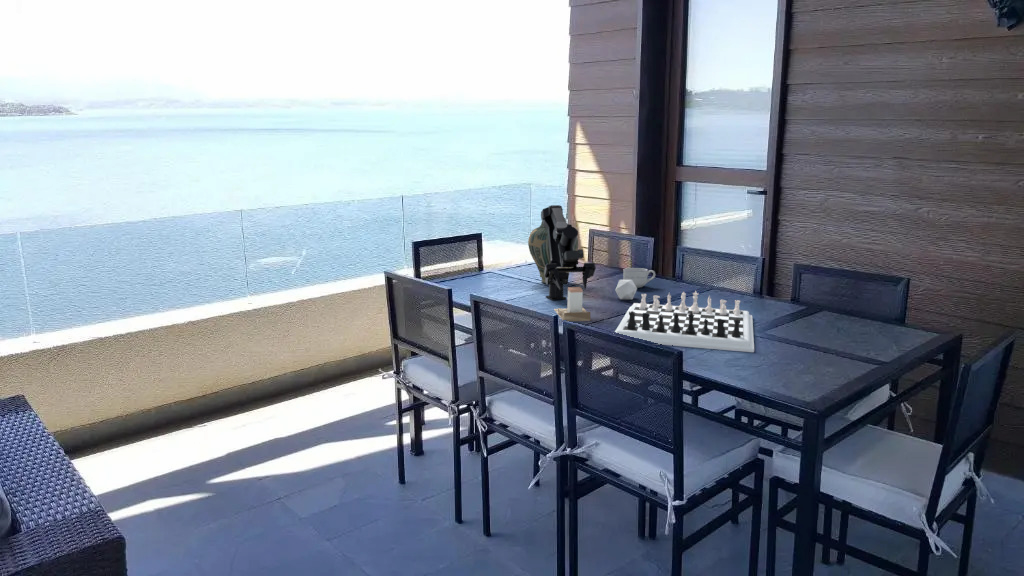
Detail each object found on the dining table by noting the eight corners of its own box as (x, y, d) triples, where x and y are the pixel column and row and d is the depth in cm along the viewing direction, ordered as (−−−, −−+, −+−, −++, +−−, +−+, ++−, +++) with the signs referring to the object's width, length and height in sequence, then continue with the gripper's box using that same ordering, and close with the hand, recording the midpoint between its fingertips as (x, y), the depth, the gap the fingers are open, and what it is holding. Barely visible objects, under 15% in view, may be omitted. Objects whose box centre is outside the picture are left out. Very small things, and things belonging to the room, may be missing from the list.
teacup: (620, 288, 329) (621, 270, 327) (624, 283, 339) (625, 266, 337) (652, 290, 324) (653, 272, 323) (656, 285, 334) (656, 267, 333)
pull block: (567, 316, 278) (567, 287, 275) (579, 315, 278) (579, 286, 276) (569, 319, 273) (570, 289, 271) (581, 319, 274) (582, 289, 272)
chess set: (751, 319, 279) (754, 291, 276) (753, 354, 236) (756, 320, 234) (630, 310, 291) (631, 283, 289) (611, 342, 249) (612, 310, 247)
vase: (563, 289, 325) (565, 220, 319) (519, 284, 336) (519, 217, 330) (585, 280, 344) (587, 215, 338) (542, 275, 355) (543, 212, 349)
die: (630, 303, 303) (642, 283, 304) (612, 292, 304) (624, 272, 305) (627, 306, 311) (639, 286, 313) (609, 295, 312) (621, 275, 313)
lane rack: (553, 310, 289) (553, 301, 288) (578, 309, 290) (579, 300, 290) (563, 322, 271) (564, 313, 270) (591, 321, 272) (591, 312, 271)
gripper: (545, 242, 278) (551, 277, 269) (595, 241, 280) (602, 276, 272) (541, 259, 287) (546, 294, 278) (589, 258, 289) (596, 292, 281)
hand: (572, 288), depth 277 cm, fingers open, 9 cm apart
